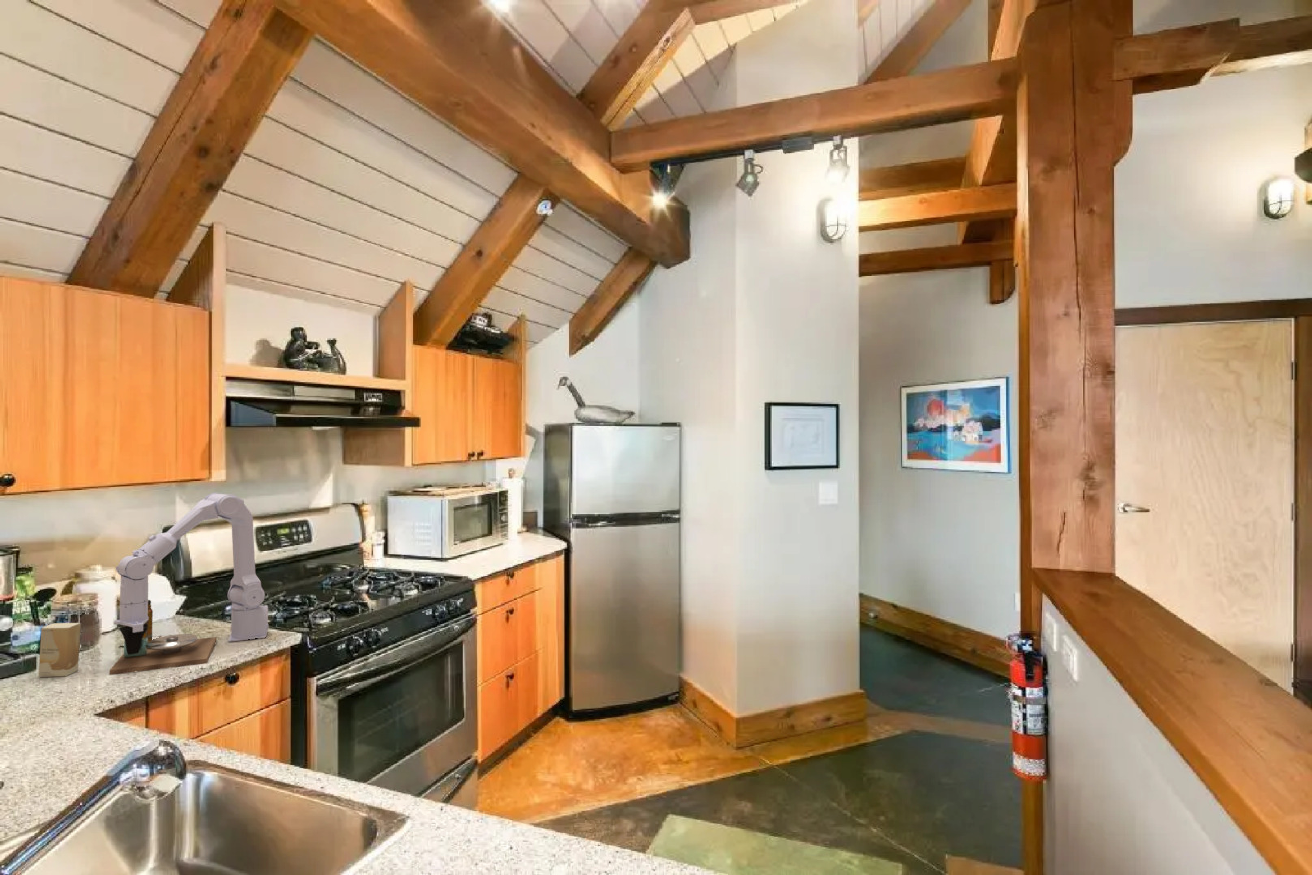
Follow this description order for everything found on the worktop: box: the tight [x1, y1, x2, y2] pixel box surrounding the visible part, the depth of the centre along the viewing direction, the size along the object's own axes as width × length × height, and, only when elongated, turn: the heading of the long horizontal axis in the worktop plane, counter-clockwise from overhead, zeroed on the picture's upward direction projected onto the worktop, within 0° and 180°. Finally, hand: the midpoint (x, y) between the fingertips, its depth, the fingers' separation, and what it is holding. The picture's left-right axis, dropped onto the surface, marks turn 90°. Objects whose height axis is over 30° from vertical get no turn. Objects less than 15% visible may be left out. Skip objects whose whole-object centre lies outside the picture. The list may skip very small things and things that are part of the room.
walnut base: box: [109, 636, 218, 676], centre depth 172 cm, size 20×20×6 cm
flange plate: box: [123, 633, 198, 657], centre depth 172 cm, size 16×11×4 cm
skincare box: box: [38, 622, 82, 678], centre depth 159 cm, size 6×4×12 cm
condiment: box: [125, 599, 162, 642], centre depth 184 cm, size 7×8×12 cm
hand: (133, 653), depth 167 cm, fingers closed
